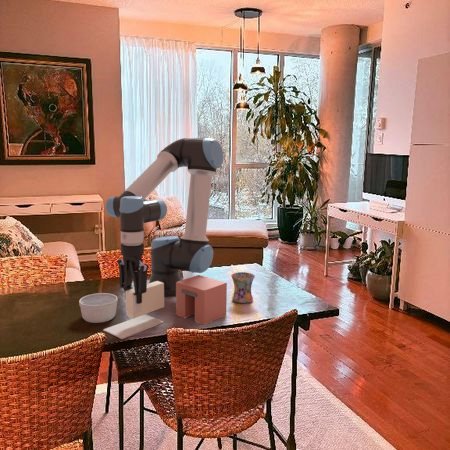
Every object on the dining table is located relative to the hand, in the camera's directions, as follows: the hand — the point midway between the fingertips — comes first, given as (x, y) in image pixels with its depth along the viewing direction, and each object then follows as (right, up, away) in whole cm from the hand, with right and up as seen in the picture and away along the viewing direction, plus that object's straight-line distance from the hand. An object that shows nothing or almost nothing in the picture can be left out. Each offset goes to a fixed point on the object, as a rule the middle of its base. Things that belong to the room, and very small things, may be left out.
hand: (133, 310), depth 153 cm
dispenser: (+22, -4, +12) cm, 26 cm away
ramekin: (-14, -4, +9) cm, 17 cm away
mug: (+38, -1, +29) cm, 48 cm away
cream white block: (+4, -1, +5) cm, 6 cm away
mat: (0, -6, +1) cm, 6 cm away
